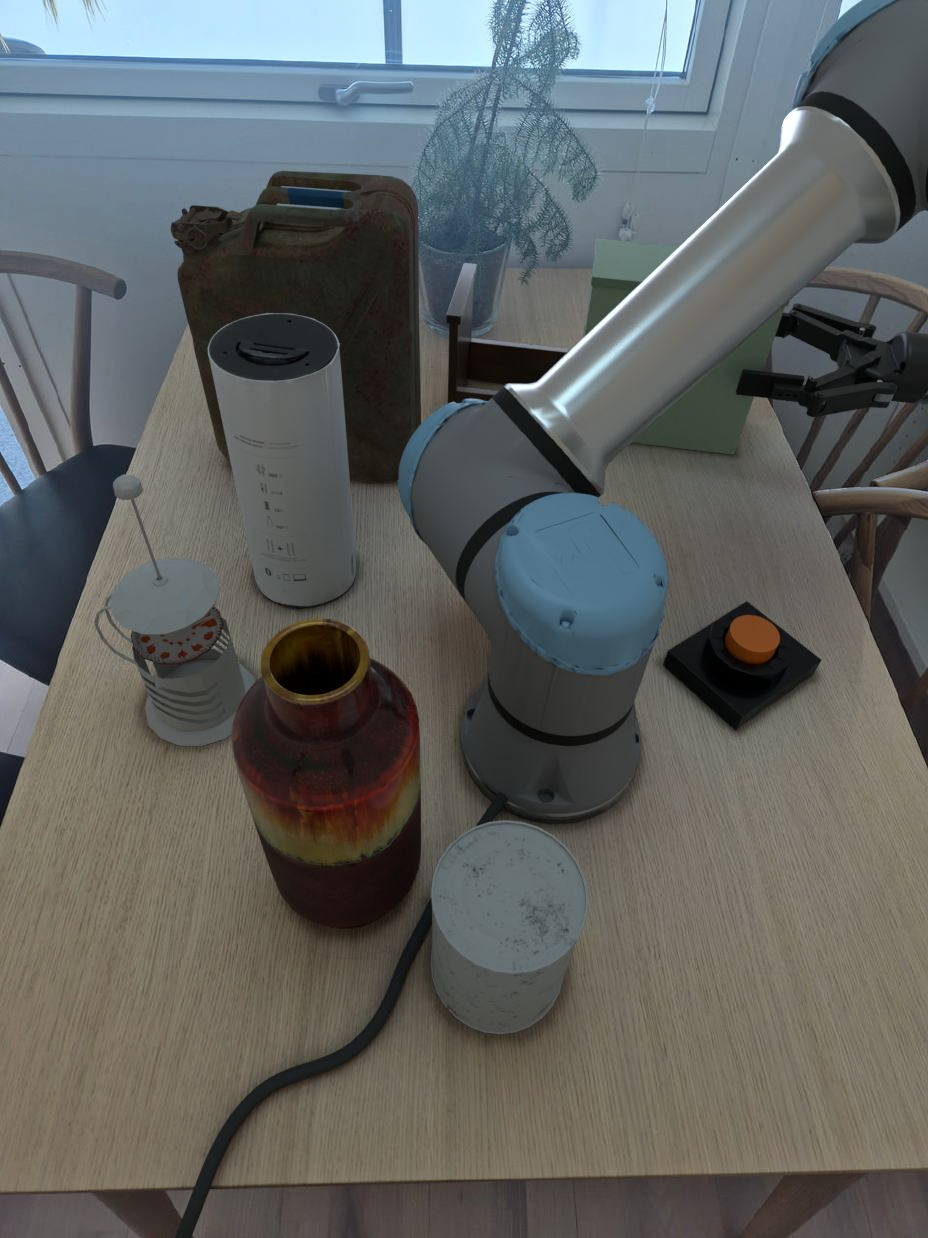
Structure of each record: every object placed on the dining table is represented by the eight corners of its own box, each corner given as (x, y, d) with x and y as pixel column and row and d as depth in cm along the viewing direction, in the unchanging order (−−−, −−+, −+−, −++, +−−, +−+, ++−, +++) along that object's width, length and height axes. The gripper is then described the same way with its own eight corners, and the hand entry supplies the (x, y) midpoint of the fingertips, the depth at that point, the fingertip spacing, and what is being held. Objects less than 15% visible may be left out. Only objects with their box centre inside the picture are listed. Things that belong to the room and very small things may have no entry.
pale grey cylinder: (446, 1050, 55) (450, 991, 46) (418, 913, 61) (416, 836, 52) (581, 1016, 57) (611, 952, 48) (541, 885, 63) (560, 806, 54)
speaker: (376, 555, 86) (361, 323, 67) (328, 623, 80) (296, 389, 60) (287, 527, 89) (248, 295, 69) (234, 591, 82) (174, 355, 63)
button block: (735, 730, 73) (748, 704, 70) (662, 665, 78) (672, 637, 75) (813, 674, 78) (829, 647, 75) (740, 615, 82) (752, 587, 79)
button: (751, 672, 73) (757, 659, 72) (714, 640, 75) (719, 628, 74) (784, 650, 75) (790, 637, 73) (746, 620, 77) (752, 607, 76)
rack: (563, 385, 108) (579, 274, 97) (556, 442, 100) (572, 328, 89) (460, 373, 109) (463, 262, 98) (444, 429, 101) (446, 314, 90)
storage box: (730, 411, 106) (781, 256, 91) (735, 456, 100) (791, 297, 84) (572, 393, 107) (596, 237, 92) (567, 435, 101) (592, 276, 86)
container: (423, 437, 100) (421, 173, 77) (412, 490, 93) (407, 218, 71) (239, 422, 101) (185, 156, 78) (216, 474, 94) (149, 199, 72)
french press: (234, 755, 70) (163, 538, 51) (105, 732, 71) (-11, 511, 52) (273, 666, 76) (222, 443, 57) (154, 646, 77) (66, 421, 58)
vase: (389, 786, 68) (374, 561, 49) (445, 905, 62) (453, 700, 42) (258, 838, 65) (185, 618, 45) (303, 970, 58) (240, 779, 39)
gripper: (935, 464, 87) (733, 441, 89) (890, 342, 104) (720, 324, 105) (970, 403, 82) (753, 380, 83) (917, 285, 98) (736, 267, 100)
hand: (734, 349), depth 94 cm, fingers open, 13 cm apart
